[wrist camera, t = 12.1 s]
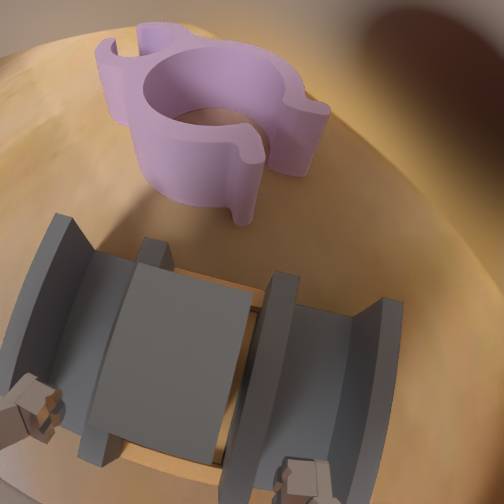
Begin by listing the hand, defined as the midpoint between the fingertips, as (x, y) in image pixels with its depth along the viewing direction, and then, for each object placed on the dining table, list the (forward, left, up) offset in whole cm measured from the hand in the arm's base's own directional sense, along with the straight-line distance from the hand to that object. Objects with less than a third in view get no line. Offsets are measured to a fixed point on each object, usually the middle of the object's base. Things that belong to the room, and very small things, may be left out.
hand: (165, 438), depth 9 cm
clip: (-22, +4, -9) cm, 24 cm away
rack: (-2, +1, -8) cm, 9 cm away
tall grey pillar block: (-2, +1, -6) cm, 7 cm away
